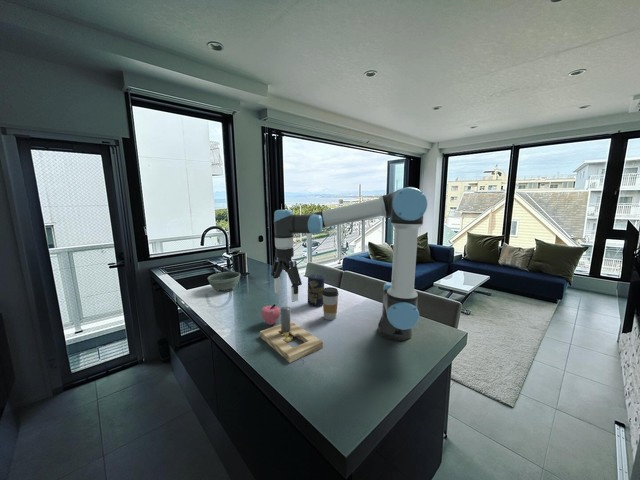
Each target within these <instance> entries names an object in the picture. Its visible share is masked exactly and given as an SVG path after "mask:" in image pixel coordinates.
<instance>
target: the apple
mask: <svg viewBox="0 0 640 480" xmlns="http://www.w3.org/2000/svg"><path fill="white" fill-rule="evenodd" d="M260 314H261V317H262V319H263V320H264V321H265V323H266V325H268V326H271V325H275V324H276V323H277V321H278V319H279V318H280V317H281V307H279V306H277V305H276V304H275V303H274V304H273V305H266V306H265V305H263V307H262V308H261V310H260Z"/></svg>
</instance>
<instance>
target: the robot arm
mask: <svg viewBox="0 0 640 480" xmlns="http://www.w3.org/2000/svg"><path fill="white" fill-rule="evenodd" d="M427 208H428V199H427V196H426V195H425V193H424V192H423V191H422V190H420V189H418V188H416V187H414V186H408V187H402V188H400V189H397V190H394V191H393V192H390V193H387V194H383V195H381V196H379V198H376V199H373V200H367V201H362V202H358V203H353V204H349V205H348V204H347V205H344V206H339V207H335V208H329V209H325V210H322V211H316V212H310V213H308V214H294V212H293V210H292V209H277V210H275V211H274V214H273V215H274V217H273V219H274V220H273V224H274V228H273V229H274V246H275V250H274V252H275V254H274V255H275V256H274V257H273V264H272V269H271V272H270V275H271V277H273V281H274V282H273V283H274V293H275V294H278V293H281V292H282V291H281V290H282V289H281V287H282V286H281V274H282V272H283V271H285V273H287V275H288V279H289V281H290V283H291V286H290V287H291V289H290V291H291V295H290V296H291V303H294V302H298V301H299V286H302V285H303V282H302V280H301V276H300V273H299V269H298V263H297V261H296V260H293V261H292V258H293V257H294V256H295V255H294V254H295V252H294V234H311V235H314V234H321V233H322V231H323V229H324V228H330V227H335V226H338V225H344V224H349V223H353V222H354V223H356V222H359V221H360V222H361V221H364V220H369V219H374V218H379V217H383V218H385V219H386V218H390V225H391V226H393V228H394V231H393V232H394V233H393V248H392V249H393V250H392V265H391V267H392V268H391V269H392V270H391V282H386V283H384V284H383V289H382V293H383V295H382V309H381V310H382V312H381V313H382V315H381V317H380V319H379V322H378V325H377V332H378V334H379V335H380V336H382V337H384V338H386V339H388V340H392V341H406V340H409V339H411V337H412V335H413V327H415V326H417V324H418V323H419V320H420V311H419V308H418V300H419V298H418V297H419V296H418V292H417V291H416V290H415V279H416V277H415V276H416V264H417V251H418V234H419V229H420V228H421V226H423V224H424V215H425V213H426V211H427Z"/></svg>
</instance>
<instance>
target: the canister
mask: <svg viewBox="0 0 640 480" xmlns="http://www.w3.org/2000/svg"><path fill="white" fill-rule="evenodd" d="M324 288H325V276H324V275H322V274H317V273H316V274H310V275H308V277H307V304H308V305H309V306H311V307H321V306H323V295H322V293H323V289H324Z"/></svg>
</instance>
